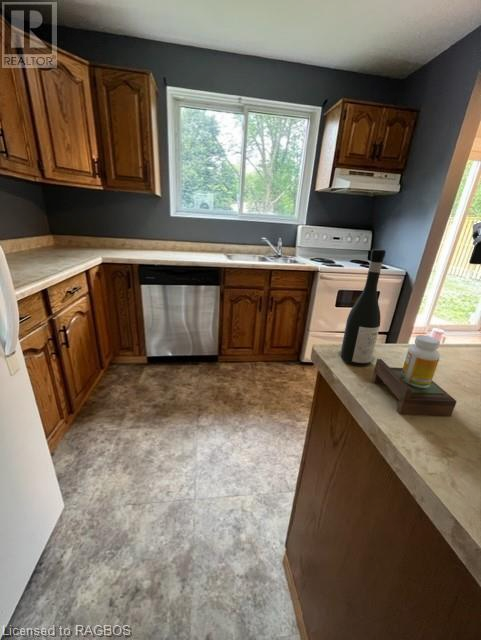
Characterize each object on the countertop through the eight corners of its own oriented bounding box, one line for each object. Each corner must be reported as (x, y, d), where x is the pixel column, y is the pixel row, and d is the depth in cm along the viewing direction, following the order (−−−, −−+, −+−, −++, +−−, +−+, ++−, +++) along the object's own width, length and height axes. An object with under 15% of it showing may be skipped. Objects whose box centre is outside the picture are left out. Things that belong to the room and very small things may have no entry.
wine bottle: (377, 364, 73) (405, 251, 63) (356, 370, 70) (382, 251, 60) (353, 352, 80) (376, 247, 70) (333, 356, 77) (353, 247, 66)
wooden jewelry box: (412, 386, 64) (420, 360, 62) (448, 422, 53) (460, 392, 50) (370, 385, 64) (377, 358, 61) (397, 420, 53) (407, 389, 50)
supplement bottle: (436, 386, 55) (451, 342, 52) (418, 391, 53) (432, 346, 50) (411, 372, 60) (424, 332, 56) (394, 376, 58) (406, 335, 54)
